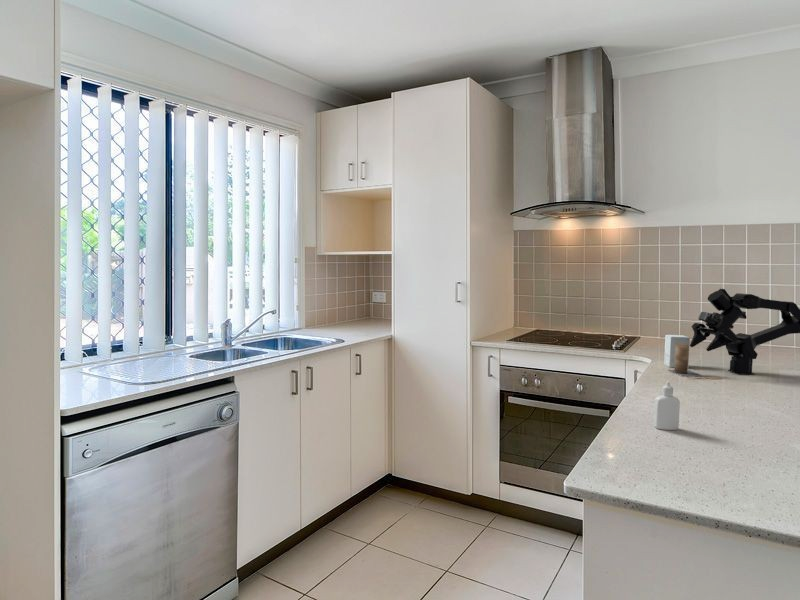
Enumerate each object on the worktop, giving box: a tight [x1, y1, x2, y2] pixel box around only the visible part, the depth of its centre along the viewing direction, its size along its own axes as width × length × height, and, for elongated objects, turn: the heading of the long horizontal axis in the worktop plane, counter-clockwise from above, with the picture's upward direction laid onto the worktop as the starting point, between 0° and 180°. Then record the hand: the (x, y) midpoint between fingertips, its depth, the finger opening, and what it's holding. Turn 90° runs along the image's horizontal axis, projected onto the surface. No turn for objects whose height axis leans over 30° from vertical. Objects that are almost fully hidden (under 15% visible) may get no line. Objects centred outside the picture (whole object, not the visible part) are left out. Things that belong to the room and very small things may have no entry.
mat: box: [668, 369, 704, 377], centre depth 199 cm, size 8×10×1 cm
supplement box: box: [663, 334, 691, 368], centre depth 214 cm, size 7×7×13 cm
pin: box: [673, 343, 690, 374], centre depth 199 cm, size 4×4×11 cm
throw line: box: [685, 377, 721, 380], centre depth 191 cm, size 12×1×1 cm, turn 90°
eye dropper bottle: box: [653, 380, 680, 431], centre depth 132 cm, size 4×6×12 cm
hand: (698, 348), depth 199 cm, fingers open, 9 cm apart
